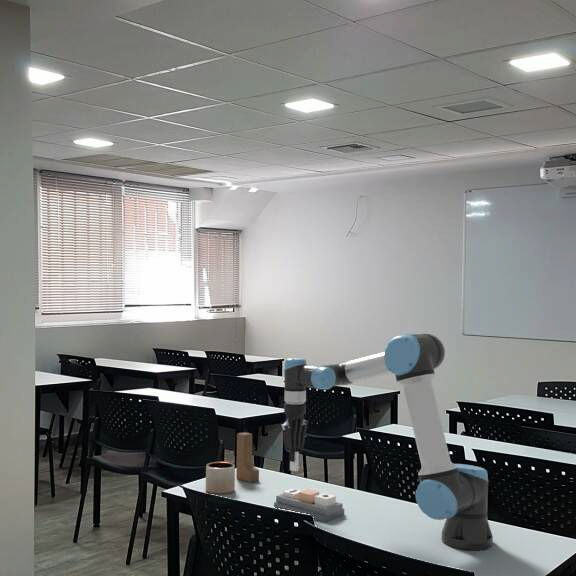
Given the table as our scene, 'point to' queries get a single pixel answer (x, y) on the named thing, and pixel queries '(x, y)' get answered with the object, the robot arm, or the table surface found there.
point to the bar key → (292, 494)
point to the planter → (220, 477)
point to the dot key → (325, 500)
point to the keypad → (310, 508)
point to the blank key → (308, 496)
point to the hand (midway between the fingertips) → (294, 470)
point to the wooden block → (245, 459)
